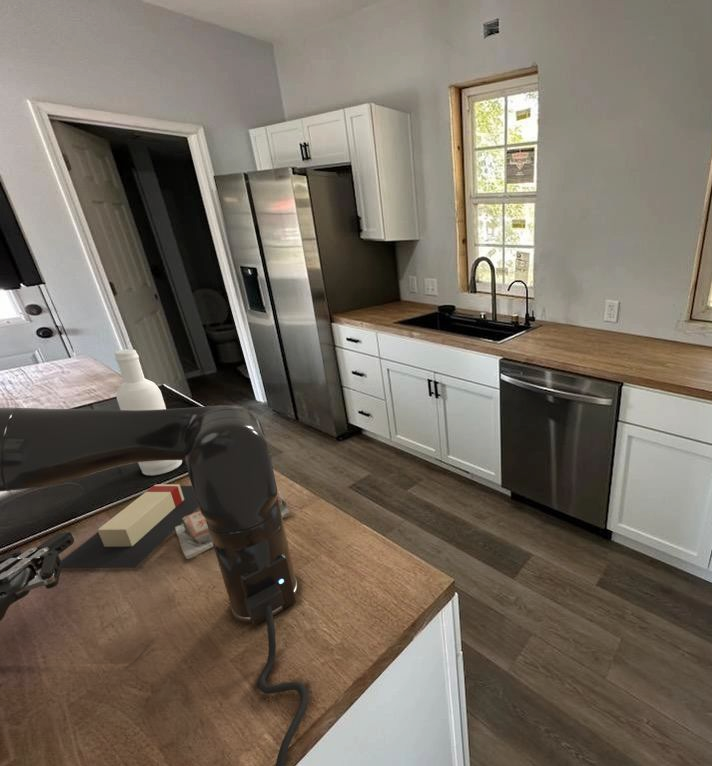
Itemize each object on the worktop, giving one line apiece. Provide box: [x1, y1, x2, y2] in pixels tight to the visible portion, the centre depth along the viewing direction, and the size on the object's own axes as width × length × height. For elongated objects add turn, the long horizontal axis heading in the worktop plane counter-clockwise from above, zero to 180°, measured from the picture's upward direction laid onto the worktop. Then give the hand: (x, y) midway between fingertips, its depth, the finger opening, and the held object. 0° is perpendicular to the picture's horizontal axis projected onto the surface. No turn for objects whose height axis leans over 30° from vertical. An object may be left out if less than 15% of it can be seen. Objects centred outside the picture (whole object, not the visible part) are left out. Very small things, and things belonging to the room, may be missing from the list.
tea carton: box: [97, 483, 184, 547], centre depth 82 cm, size 4×5×14 cm
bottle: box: [113, 348, 183, 476], centre depth 96 cm, size 8×8×30 cm
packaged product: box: [174, 489, 292, 560], centre depth 83 cm, size 18×5×10 cm
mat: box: [61, 485, 199, 569], centre depth 83 cm, size 24×14×1 cm, turn 2°
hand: (67, 536), depth 67 cm, fingers closed
